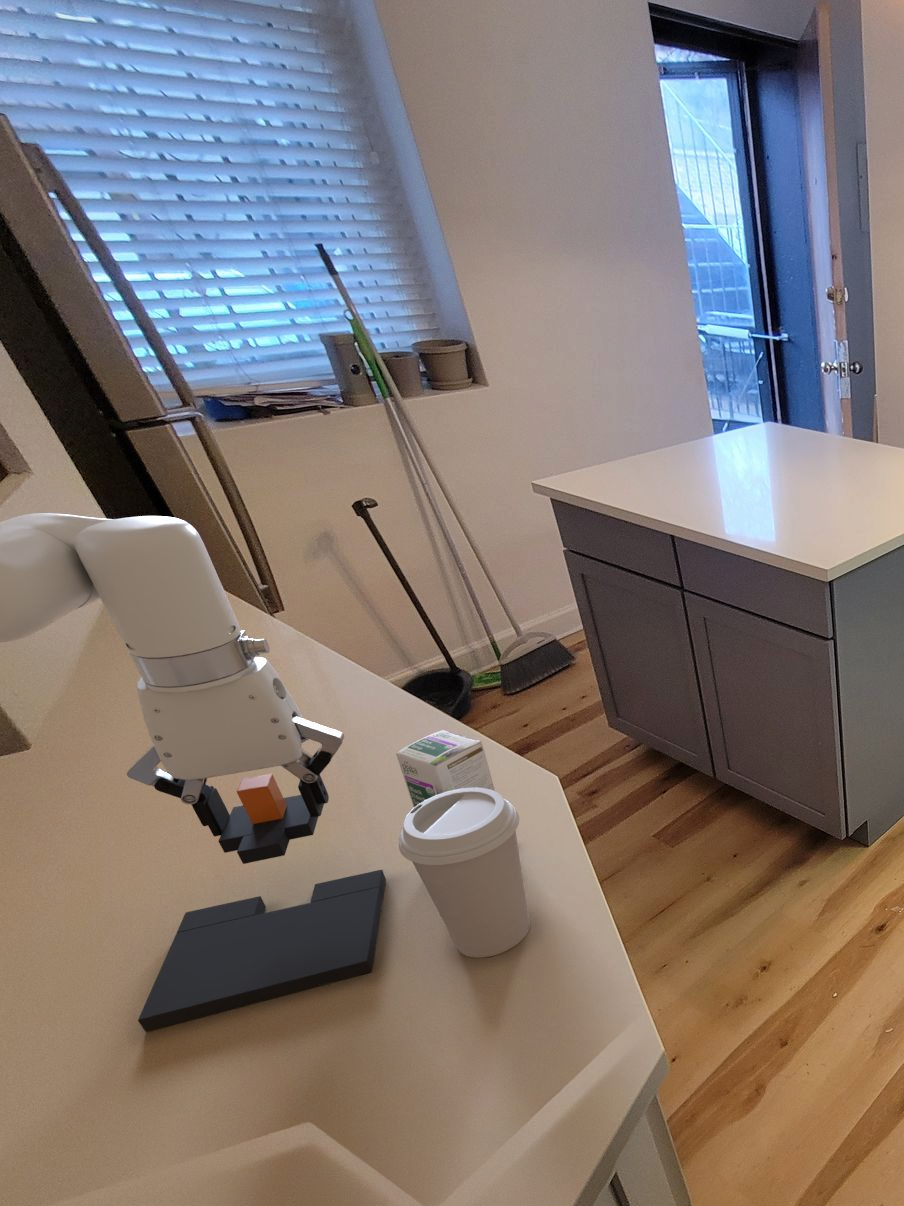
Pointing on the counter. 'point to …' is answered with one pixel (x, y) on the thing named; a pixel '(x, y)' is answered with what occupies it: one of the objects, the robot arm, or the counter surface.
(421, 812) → the coffee cup
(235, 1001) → the notch pad
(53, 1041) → the counter surface
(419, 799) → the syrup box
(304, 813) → the pad
